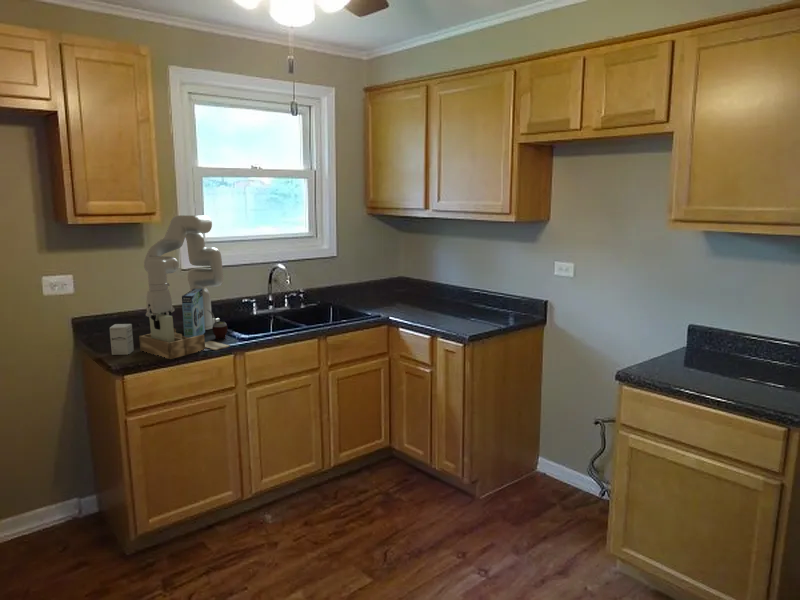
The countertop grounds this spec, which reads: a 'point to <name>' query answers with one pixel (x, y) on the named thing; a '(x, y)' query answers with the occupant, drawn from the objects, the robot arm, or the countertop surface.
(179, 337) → the offcut pine
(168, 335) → the sage panel
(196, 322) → the gum box
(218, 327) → the mate gourd
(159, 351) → the oak rack
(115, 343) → the supplement box
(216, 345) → the cork board
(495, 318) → the countertop surface
